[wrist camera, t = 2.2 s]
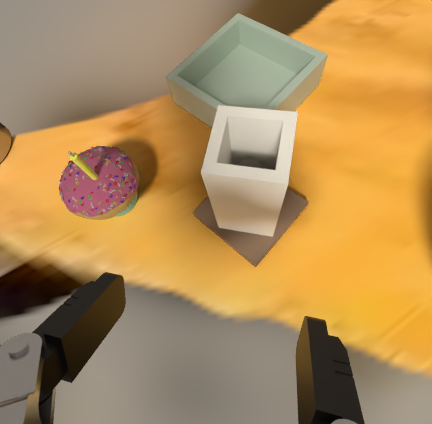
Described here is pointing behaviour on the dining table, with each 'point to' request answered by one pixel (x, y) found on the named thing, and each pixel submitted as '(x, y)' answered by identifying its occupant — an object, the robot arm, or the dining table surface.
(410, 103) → the dining table surface
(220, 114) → the sleeve
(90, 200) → the cupcake
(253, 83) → the tray
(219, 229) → the base
